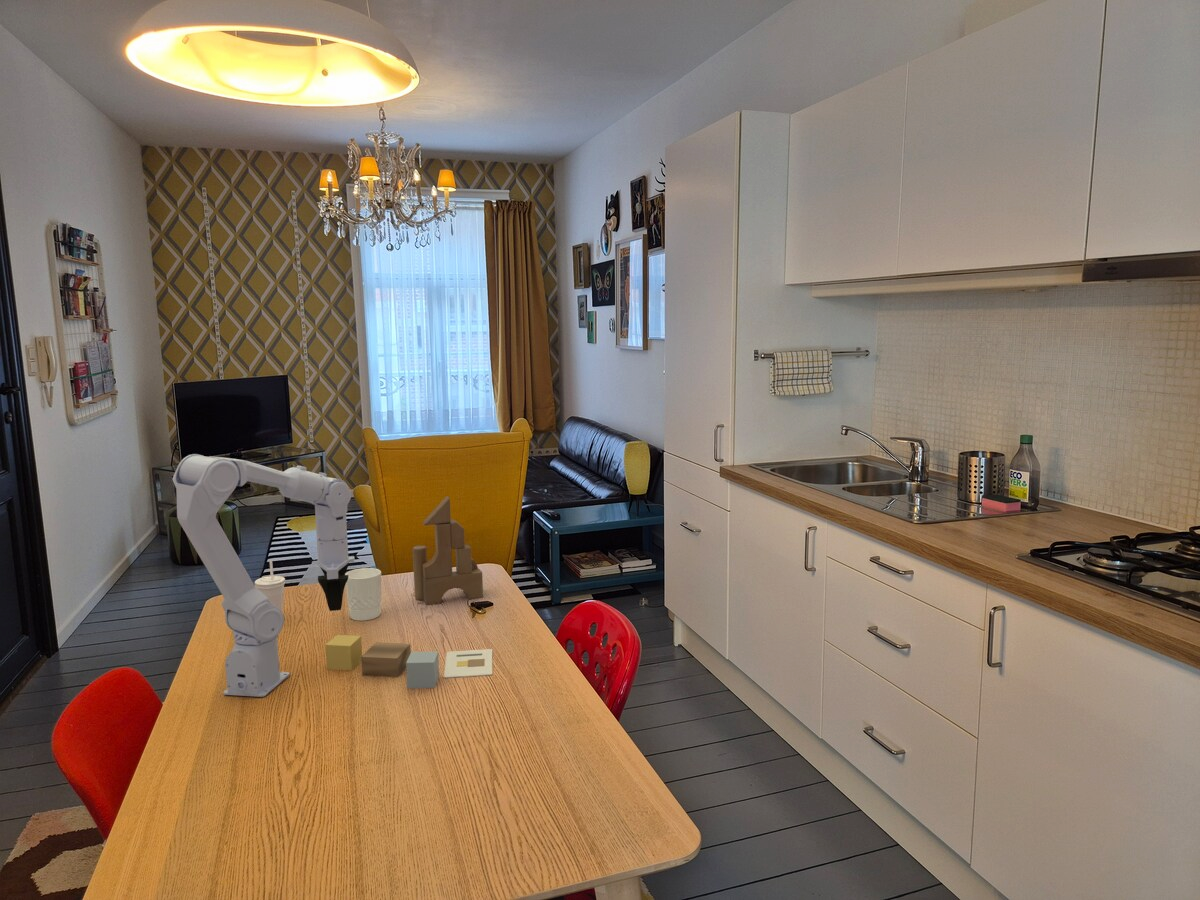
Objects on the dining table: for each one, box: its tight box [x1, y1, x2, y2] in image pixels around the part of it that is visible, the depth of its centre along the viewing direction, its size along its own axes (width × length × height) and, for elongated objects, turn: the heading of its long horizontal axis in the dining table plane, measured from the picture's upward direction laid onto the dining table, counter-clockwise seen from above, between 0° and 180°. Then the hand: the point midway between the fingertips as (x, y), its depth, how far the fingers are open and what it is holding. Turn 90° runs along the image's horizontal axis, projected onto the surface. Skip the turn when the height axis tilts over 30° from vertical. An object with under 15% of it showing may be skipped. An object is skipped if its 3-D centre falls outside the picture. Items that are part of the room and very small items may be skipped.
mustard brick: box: [325, 634, 363, 671], centre depth 160 cm, size 5×5×5 cm
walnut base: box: [360, 641, 412, 678], centre depth 158 cm, size 7×7×4 cm
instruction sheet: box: [443, 648, 493, 679], centre depth 160 cm, size 12×9×1 cm
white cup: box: [345, 567, 382, 622], centre depth 186 cm, size 8×8×10 cm
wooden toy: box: [412, 495, 484, 606], centre depth 196 cm, size 16×7×25 cm, turn 111°
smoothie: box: [254, 560, 286, 612], centre depth 182 cm, size 6×6×14 cm
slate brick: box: [405, 650, 440, 690], centre depth 151 cm, size 5×5×5 cm
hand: (335, 603), depth 164 cm, fingers open, 7 cm apart
